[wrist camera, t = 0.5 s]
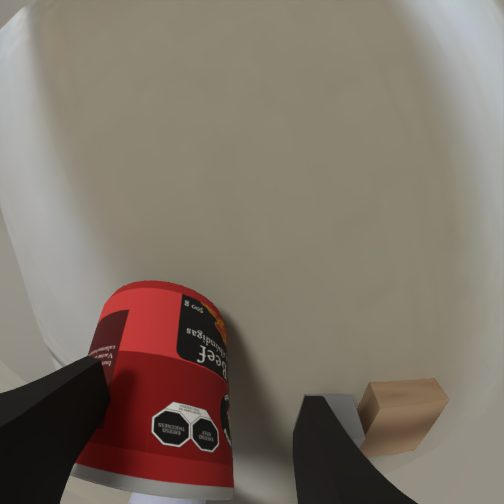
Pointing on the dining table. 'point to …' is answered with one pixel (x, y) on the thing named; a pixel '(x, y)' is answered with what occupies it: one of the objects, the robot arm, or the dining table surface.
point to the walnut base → (399, 415)
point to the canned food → (162, 396)
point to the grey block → (345, 415)
